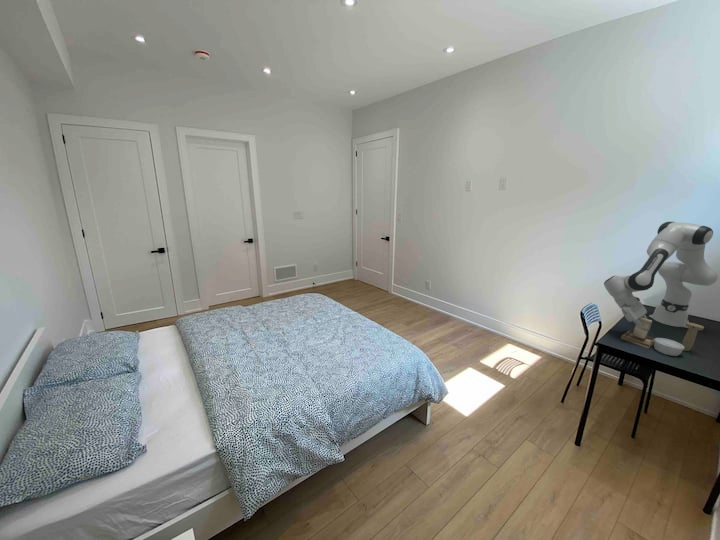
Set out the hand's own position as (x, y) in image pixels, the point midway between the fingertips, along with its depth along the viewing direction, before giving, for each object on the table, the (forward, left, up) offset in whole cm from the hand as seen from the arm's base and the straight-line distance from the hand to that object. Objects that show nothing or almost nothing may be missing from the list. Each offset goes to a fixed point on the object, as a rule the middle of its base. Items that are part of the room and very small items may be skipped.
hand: (644, 324), depth 164 cm
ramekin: (+1, +12, -10) cm, 16 cm away
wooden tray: (0, 0, -10) cm, 10 cm away
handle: (-10, +17, -10) cm, 22 cm away
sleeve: (0, 0, -9) cm, 9 cm away
